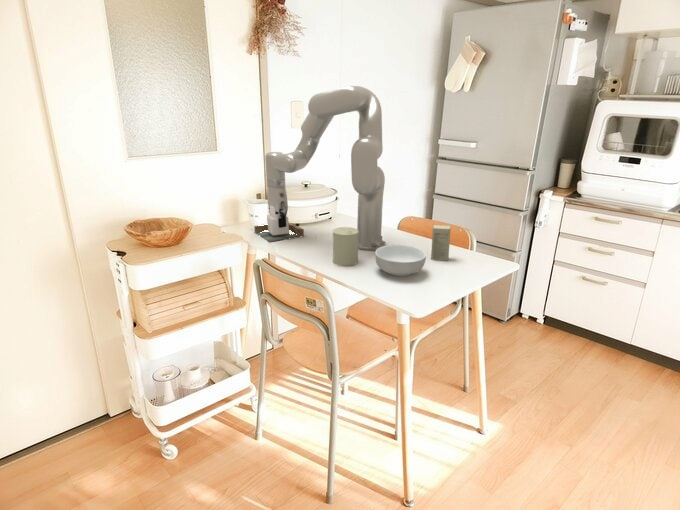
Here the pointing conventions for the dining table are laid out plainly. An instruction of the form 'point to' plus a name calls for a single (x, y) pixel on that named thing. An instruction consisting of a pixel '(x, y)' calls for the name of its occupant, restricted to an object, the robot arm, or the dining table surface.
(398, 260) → the cereal bowl
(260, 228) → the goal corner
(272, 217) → the medicine bottle
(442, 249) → the skincare box
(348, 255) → the can
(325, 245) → the dining table surface
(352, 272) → the dining table surface
